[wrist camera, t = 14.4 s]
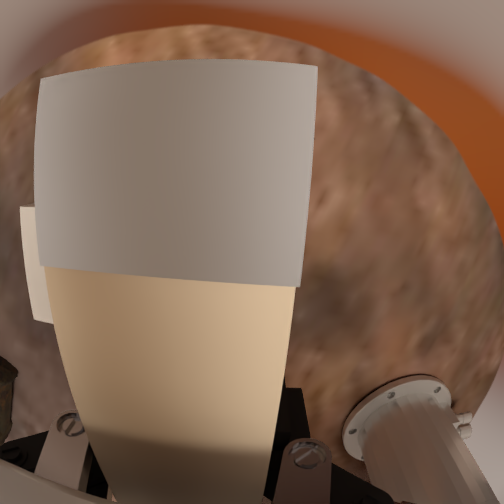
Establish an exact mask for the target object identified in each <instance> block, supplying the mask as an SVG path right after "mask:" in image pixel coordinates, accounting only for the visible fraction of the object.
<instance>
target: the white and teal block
mask: <svg viewBox="0 0 504 504" xmlns="http://www.w3.org/2000/svg"><path fill="white" fill-rule="evenodd" d="M20 219H21V233H22V244H23V254H24V262H25V270H26V277H27V284H28V290H29V296H30V301H31V307H32V312H33V317H34V319H35V320H39V321H43V322H48V323H52V324H54V323H53V318H52V313H51V308H50V302H49V297H48V291H47V284H46V278H45V270H44V266H40V262H39V254H38V244H37V233H36V220H35V203H33V204H29V205H25V206H21V207H20Z"/></svg>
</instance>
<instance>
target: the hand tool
mask: <svg viewBox="0 0 504 504" xmlns="http://www.w3.org/2000/svg"><path fill="white" fill-rule="evenodd" d="M16 377H17V369H16V368H15V367H13V366H12V365H11V364H10V363H9V362H8V361H7V360H5V359H4V358H2V357H0V446H1V445H2V444H3V443H4V441H5V439H6V438H7V437H8V434H9V432H10V430H11V427H12V421H11V420H10V414H11V401H12V395H13V394H12V383H13V380H14V379H15V378H16Z"/></svg>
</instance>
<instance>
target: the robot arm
mask: <svg viewBox="0 0 504 504" xmlns="http://www.w3.org/2000/svg"><path fill="white" fill-rule="evenodd" d="M450 407H451V395H450V392H449V390H448V388H447V387H446V386H445V384H444V383H443V382H442V381H440V380H439V379H438V378H435V377H432V376H426V375H417V376H410V377H406V378H402V379H399V380H396V381H394V382H391V383H389V384H387V385H385V386H383V387H381V388H379V389H378V390H376V391H375V392H373V393H372V394H370V395H369V396H367V397H366V398H365V399H364V400H363V401H362V402H360V403H359V404H358V405H357V406H356V408H355V409H354V410H353V411H352V412H351V413H350V415H349V417H348V418H347V420H346V422H345V424H344V427H343V431H342V439H343V444H344V447H345V450H346V451H347V452H348V453H349V455H351V456H352V457H354V458H356V459H358V460H361V461H364V462H365V465H366V468H367V472H368V475H369V478H370V481H371V484H370V483H368V482H366V481H364V480H362V479H360V478H358V477H356V476H354V475H353V474H351V473H349V472H347V471H345V470H344V469H342V468H340V467H338V466H337V465H335V464H333V463H331V462H332V456H331V451H330V450H329V448H328V447H327V446H326V445H325V444H324V443H322V442H320V441H318V440H316V439H311V438H310V432H309V426H308V421H307V415H306V410H305V404H304V399H303V393H302V389H301V388H286V385H285V377H284V378H283V385H282V392H281V398H280V404H279V410H278V416H277V422H276V428H275V434H274V440H273V446H272V451H271V457H270V462H269V468H268V473H267V478H266V483H265V488H264V494H263V495H264V496H265V497H267V498H268V499H270V500H271V501H272V502H271V504H500V503H499V501H498V500H497V498H496V496H495V494H494V492H493V491H492V489H491V487H490V485H489V483H488V482H487V480H486V478H485V476H484V475H483V473H482V471H481V470H480V468H479V466H478V465H477V463H476V461H475V459H474V458H473V456H472V454H471V453H470V451H469V449H468V448H467V446H466V444H465V443H464V442H463V439H467V438H469V437H470V436H471V433H472V428H471V425H470V424H469V423H470V422H471V420H472V414H471V412H470V411H469V412H464V413H460V414H458V415H456V414H455V413H454V412H453V411H452V409H451V408H450ZM0 504H121V503H118V502H114V501H112V491H111V489H110V487H109V485H108V483H107V481H106V479H105V476H104V474H103V472H102V470H101V468H100V466H99V463H98V461H97V459H96V457H95V454H94V452H93V449H92V447H91V445H90V442H89V440H88V437H87V435H86V432H85V429H84V427H83V424H82V421H81V419H80V416H79V413H78V410H68V411H64V412H62V413H60V414H58V415H57V416H56V417H55V419H54V420H53V422H52V425H51V427H50V430H49V431H46V432H42V433H39V434H35V435H32V436H28V437H24V438H20V439H16V440H13V441H9V442H6V443H4V444H3V445H1V446H0Z"/></svg>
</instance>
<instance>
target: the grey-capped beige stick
mask: <svg viewBox="0 0 504 504" xmlns="http://www.w3.org/2000/svg"><path fill="white" fill-rule="evenodd" d="M317 71H318V66H311V65H303V64H294V63H283V62H272V61H257V60H234V59H188V60H166V61H151V62H140V63H130V64H121V65H113V66H106V67H99V68H93V69H87V70H81V71H76V72H70V73H65V74H60V75H56V76H51V77H47V78H43V79H41V82H40V89H39V97H38V106H37V117H36V130H35V150H34V200H35V220H36V233H37V244H38V254H39V262H40V266H44V270H45V278H46V284H47V291H48V297H49V302H50V308H51V313H52V318H53V323H54V328H55V332H56V337H57V341H58V345H59V349H60V353H61V357H62V361H63V365H64V368H65V372H66V375H67V379H68V382H69V386H70V389H71V392H72V395H73V398H74V401H75V404H76V407H77V410H78V413H79V416H80V419H81V421H82V424H83V427H84V429H85V432H86V435H87V437H88V440H89V442H90V445H91V447H92V449H93V452H94V454H95V457H96V459H97V461H98V463H99V466H100V468H101V470H102V472H103V474H104V476H105V479H106V481H107V483H108V485H109V487H110V489H111V491H112V493H113V495H114V497H115V499H116V501H117V502H118V503H121V504H261V503H262V498H263V494H264V488H265V483H266V478H267V473H268V468H269V462H270V457H271V451H272V446H273V440H274V434H275V428H276V422H277V416H278V410H279V404H280V398H281V392H282V385H283V378H284V372H285V365H286V358H287V351H288V344H289V336H290V329H291V321H292V313H293V305H294V297H295V289H296V287H300V282H301V274H302V265H303V256H304V247H305V238H306V228H307V218H308V207H309V196H310V184H311V172H312V159H313V145H314V130H315V113H316V94H317Z"/></svg>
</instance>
